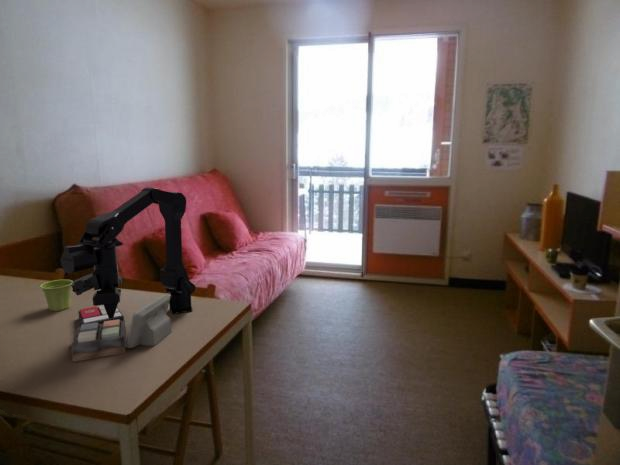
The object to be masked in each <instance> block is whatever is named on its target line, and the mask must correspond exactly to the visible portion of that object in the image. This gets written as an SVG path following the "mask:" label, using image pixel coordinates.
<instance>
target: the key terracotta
mask: <svg viewBox="0 0 620 465" xmlns="http://www.w3.org/2000/svg"><path fill="white" fill-rule="evenodd" d="M113 327H119V328H120V319H118V320H111V321H104V324H103V329H106V328H113Z"/></svg>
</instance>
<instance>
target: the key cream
mask: <svg viewBox="0 0 620 465" xmlns="http://www.w3.org/2000/svg"><path fill="white" fill-rule="evenodd" d="M93 340H97V331H96V330H93V331H87V332H80V333H79V336H78V343H81V342H87V341H93Z"/></svg>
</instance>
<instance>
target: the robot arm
mask: <svg viewBox="0 0 620 465" xmlns="http://www.w3.org/2000/svg"><path fill="white" fill-rule="evenodd" d="M152 204H156V205H158V210H159V212H160V213H159V214H161V216H162V218H163V219H164V229H165V230H164V234H165V236H164V237H165V238H164V239H165V261H166V263H165V265H164V267H163V268H161V269H159V282H160V283H161V284H160V285H161V286H162V287H163V288H164V289H165V292H166V293H170V294H169V295H168V296H169V297H170V302H169V305H168V308H169V310H170V311H171V313H172V315H173V314H179V313H180V314H181V313H186V312H193V307H192V294H193V293H194V292H195V291H196V285H195V284H194V283H193V282H192V281H190V279H189V275H188V270H187V268H186V267H185V265H184V263H183V244H182V242H183V240H182V239H183V238H182V219H183V217H184V215H185V213H186V209H187V197H186V195H184V194H183V193H182V192H175V191H166V190H162V189H159V188H157V187H144V188H143V189H141V191H139V192H138V193H137V194H135V195H134V196H132V197H131V198H129V199H128V200H127V201H125V202H124V203H122V204H121V205H119V206H118V207H117V208H115V209H113V210H111V211H109V212H106V213H102V214H99V215H98V216H95V217H93V218H91V219H89V220H88V221H87V222H86V227H85V230H84V232H83V234H82V235H81V237H80V239H79V241H78V243H77V245H76V244H75V245H67V246H64V249H63V250H64V251H63V252H62V254H61V256H60V257H61V258H60V264H61V265H60V266H61V268H62V269H63V271H64V272H65V273H66V274H69V275H71V274H74V273H77V272H78V273H79V272H83V271H86V270H89V269H93V271H92V272H91V273H89V274H86V275H84V276H82V277H80V278H77V279H74V280H72V281H73V282H72V284H71V286H72V287H71V290H72V292H73V293H74V294H75V295H76V296H80V295H83V294H84V293H85V292H87V291H90V290H92V289H93V291H96V292H94V293H93V296H92V305H93V307H97V306H101V305H104V307H105V310H106V312H107V315H108V317H109V319H111V318H113V317H114V314H115V311H116V308H117V307H118V305H119V303H120V302H121V297H122V296H121V292H122V290H121V289H119V287H120V286H122V283H123V282H122V276H121V275H119V265H118V258H117V247H120V246H123V245H124V243H123V242H122V241H120V240H119V239H118V238H117V237H118V236H119V235H120V234H121V233H122V232H123V230H124V228H125V225H126V224H127V223H128V222H130V221H131V220H132V219H133V218H135V217H136V216H138V215H139V214H141V213H142V212H143V211H144V210H146V209H147V208H148V207H150V206H151V205H152Z"/></svg>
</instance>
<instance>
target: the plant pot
mask: <svg viewBox="0 0 620 465" xmlns="http://www.w3.org/2000/svg"><path fill="white" fill-rule="evenodd" d="M73 281H74V280H71V279H56V280H51V281H46V282H43V283H42V284H41V285H40V288H41V289H42V292H43V293H44V297H45V299H46V304H47V307H48V310H49V311H52V312H57V311H59V312H60V311H63V310H65V309H68V308H70V307H71V290H72V286H71V284H72V282H73Z"/></svg>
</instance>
